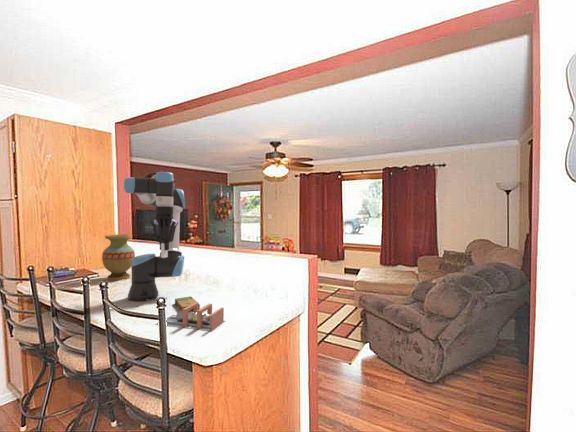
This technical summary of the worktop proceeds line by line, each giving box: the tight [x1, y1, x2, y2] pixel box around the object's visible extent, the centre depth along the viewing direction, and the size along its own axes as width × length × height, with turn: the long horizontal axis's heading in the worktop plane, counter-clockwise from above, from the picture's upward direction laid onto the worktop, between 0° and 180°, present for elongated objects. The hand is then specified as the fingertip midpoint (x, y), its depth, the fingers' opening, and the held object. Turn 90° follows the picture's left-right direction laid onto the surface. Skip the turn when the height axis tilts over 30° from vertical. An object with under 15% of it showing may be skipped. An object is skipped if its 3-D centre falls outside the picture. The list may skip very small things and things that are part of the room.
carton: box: [174, 295, 201, 312], centre depth 147 cm, size 8×16×4 cm, turn 32°
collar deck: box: [154, 301, 226, 333], centre depth 127 cm, size 26×12×8 cm, turn 75°
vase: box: [101, 233, 136, 281], centre depth 209 cm, size 20×20×30 cm
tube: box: [175, 310, 211, 325], centre depth 127 cm, size 16×4×4 cm, turn 75°
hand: (164, 257), depth 139 cm, fingers closed
